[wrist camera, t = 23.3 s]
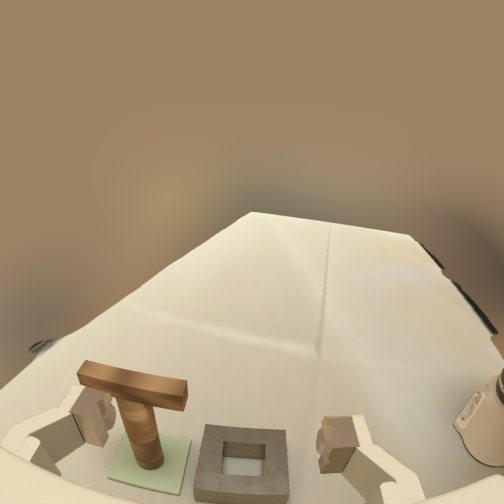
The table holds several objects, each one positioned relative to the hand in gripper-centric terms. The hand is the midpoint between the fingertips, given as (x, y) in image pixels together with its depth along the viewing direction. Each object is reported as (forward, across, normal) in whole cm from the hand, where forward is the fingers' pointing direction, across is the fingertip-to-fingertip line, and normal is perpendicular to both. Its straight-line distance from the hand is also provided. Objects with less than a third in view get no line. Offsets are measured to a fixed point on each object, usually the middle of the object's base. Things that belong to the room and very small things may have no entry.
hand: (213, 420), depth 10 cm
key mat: (+15, +11, +30) cm, 35 cm away
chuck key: (+15, +11, +29) cm, 35 cm away
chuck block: (+15, -2, +30) cm, 34 cm away
